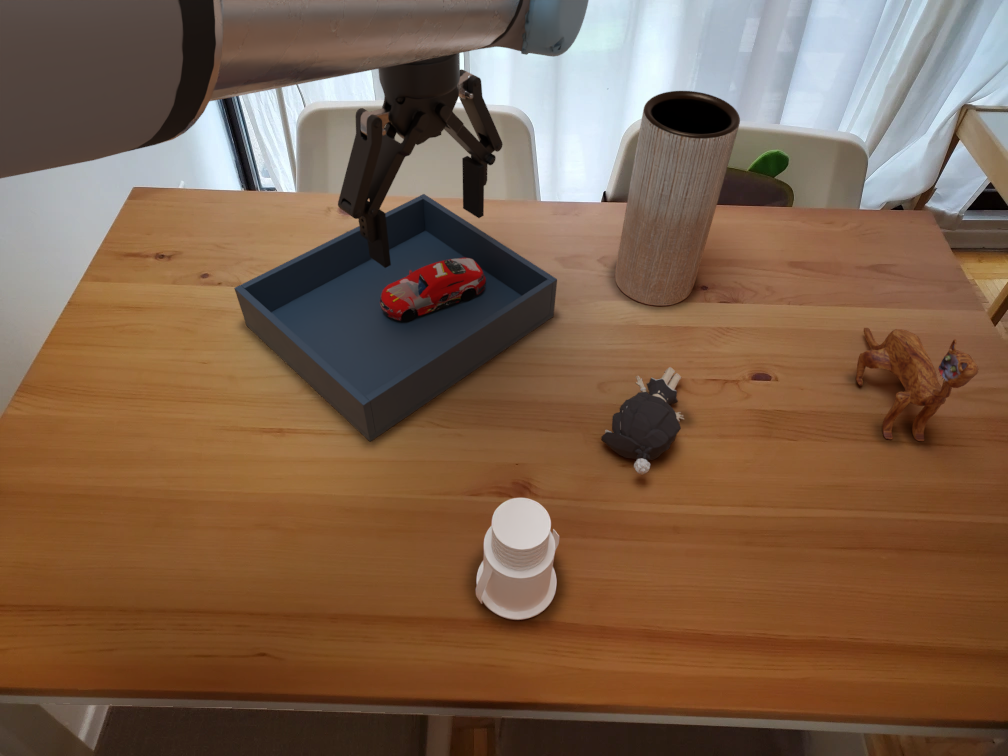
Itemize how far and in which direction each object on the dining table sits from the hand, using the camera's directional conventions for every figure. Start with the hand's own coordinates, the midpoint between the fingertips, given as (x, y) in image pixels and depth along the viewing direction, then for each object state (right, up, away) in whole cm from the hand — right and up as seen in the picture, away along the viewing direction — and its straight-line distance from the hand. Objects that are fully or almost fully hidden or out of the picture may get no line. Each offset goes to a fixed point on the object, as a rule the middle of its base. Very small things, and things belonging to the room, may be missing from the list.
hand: (428, 235), depth 80 cm
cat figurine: (+51, -18, -1) cm, 53 cm away
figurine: (+23, -21, -5) cm, 32 cm away
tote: (-4, -9, +5) cm, 11 cm away
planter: (+27, -4, +11) cm, 30 cm away
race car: (0, -6, +7) cm, 9 cm away
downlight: (+9, -34, -17) cm, 39 cm away
